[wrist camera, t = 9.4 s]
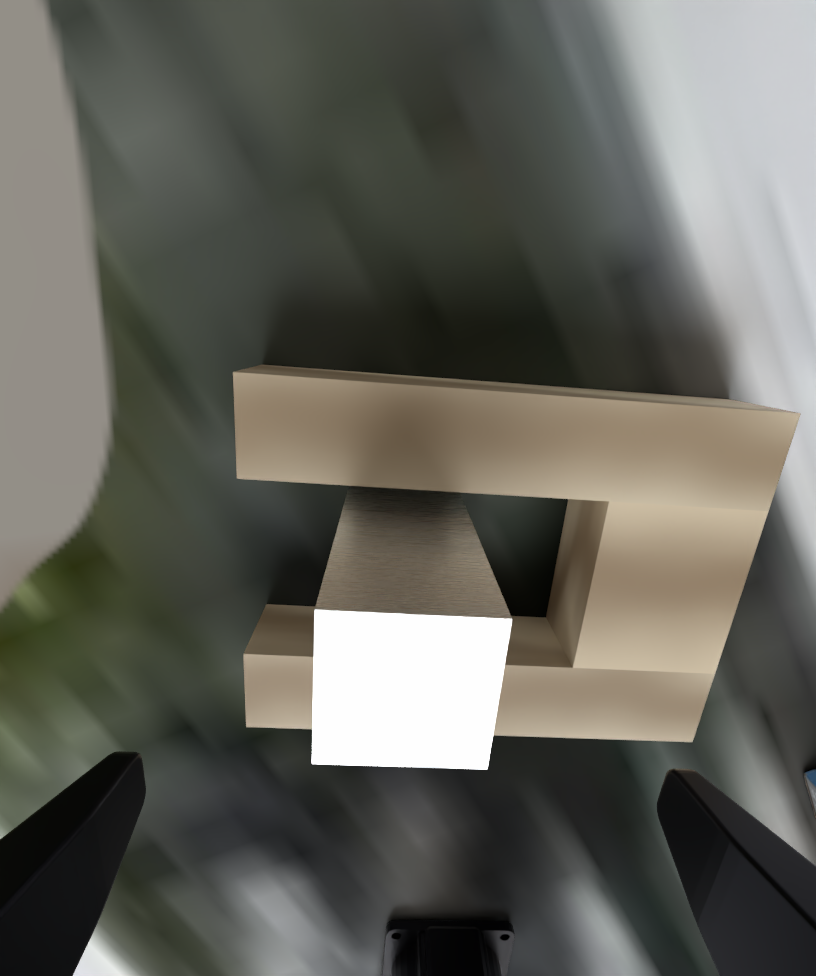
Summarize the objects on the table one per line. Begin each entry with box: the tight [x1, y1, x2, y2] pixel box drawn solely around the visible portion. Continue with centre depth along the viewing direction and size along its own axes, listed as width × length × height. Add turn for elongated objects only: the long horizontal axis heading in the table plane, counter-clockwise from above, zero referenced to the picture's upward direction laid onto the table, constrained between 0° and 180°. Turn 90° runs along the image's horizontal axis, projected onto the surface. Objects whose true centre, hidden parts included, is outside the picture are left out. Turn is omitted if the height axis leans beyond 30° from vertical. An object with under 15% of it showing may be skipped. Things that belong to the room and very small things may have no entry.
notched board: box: [233, 365, 801, 742], centre depth 17 cm, size 12×16×3 cm
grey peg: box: [312, 486, 512, 769], centre depth 14 cm, size 4×4×8 cm
